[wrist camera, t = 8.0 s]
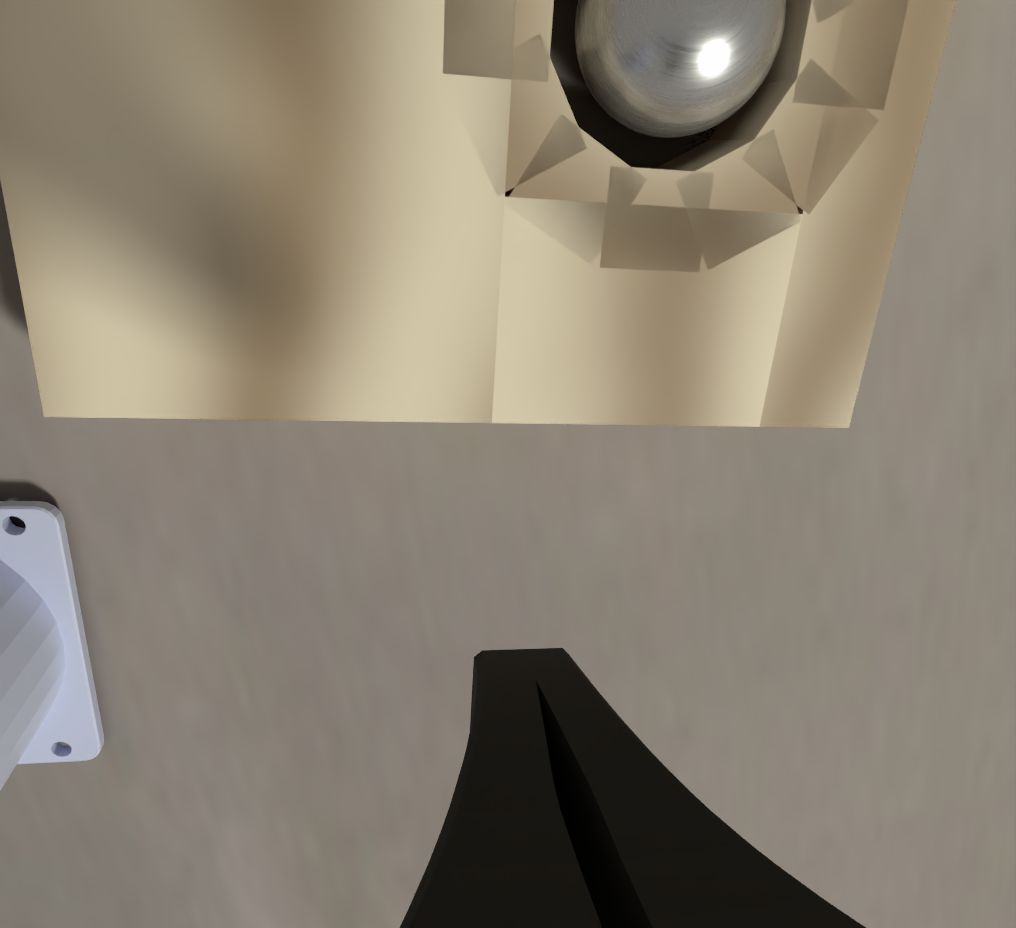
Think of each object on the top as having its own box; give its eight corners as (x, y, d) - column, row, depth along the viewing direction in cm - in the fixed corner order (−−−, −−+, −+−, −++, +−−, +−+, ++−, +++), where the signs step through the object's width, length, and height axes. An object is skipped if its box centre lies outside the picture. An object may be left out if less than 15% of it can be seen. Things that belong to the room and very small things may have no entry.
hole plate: (89, 381, 18) (44, 416, 15) (-68, -615, 12) (-181, -799, 9) (798, 395, 20) (848, 428, 18) (975, -408, 14) (1085, -513, 12)
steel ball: (859, 31, 13) (776, 102, 17) (761, -203, 12) (699, -72, 16) (649, 147, 13) (616, 190, 17) (544, -76, 13) (535, 22, 17)
